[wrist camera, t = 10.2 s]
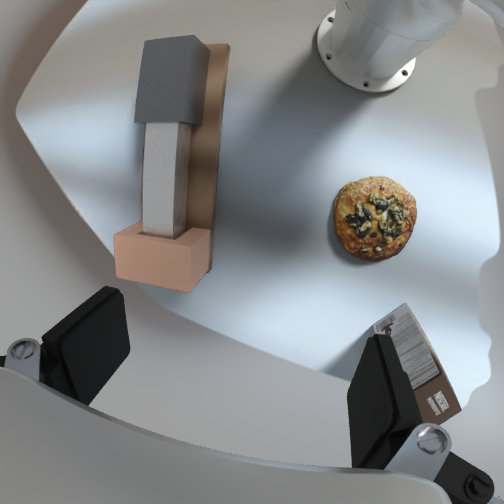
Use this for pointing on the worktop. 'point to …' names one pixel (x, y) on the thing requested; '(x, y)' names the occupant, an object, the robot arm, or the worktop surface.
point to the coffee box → (420, 365)
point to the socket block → (162, 258)
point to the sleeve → (172, 81)
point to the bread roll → (374, 218)
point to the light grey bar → (165, 178)
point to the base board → (206, 148)
